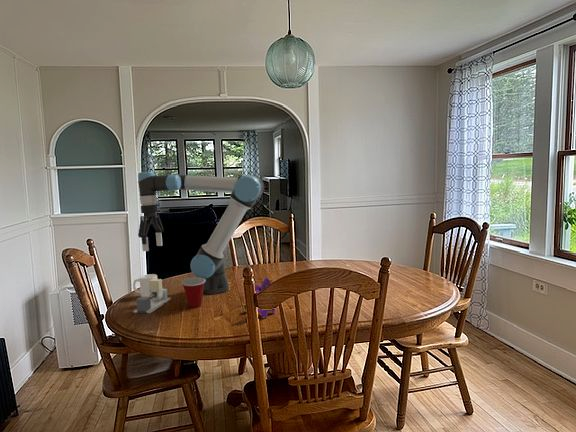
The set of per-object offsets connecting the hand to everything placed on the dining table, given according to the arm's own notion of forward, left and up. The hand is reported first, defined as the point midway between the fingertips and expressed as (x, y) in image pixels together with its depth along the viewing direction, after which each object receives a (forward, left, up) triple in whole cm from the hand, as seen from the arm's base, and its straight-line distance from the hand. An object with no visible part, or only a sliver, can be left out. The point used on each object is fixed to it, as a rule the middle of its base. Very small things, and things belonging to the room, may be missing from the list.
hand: (153, 248), depth 209 cm
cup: (+7, -2, -25) cm, 26 cm away
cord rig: (-4, +12, -25) cm, 27 cm away
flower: (-56, +18, -25) cm, 64 cm away
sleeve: (-4, +8, -22) cm, 24 cm away
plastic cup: (-24, +11, -25) cm, 36 cm away
